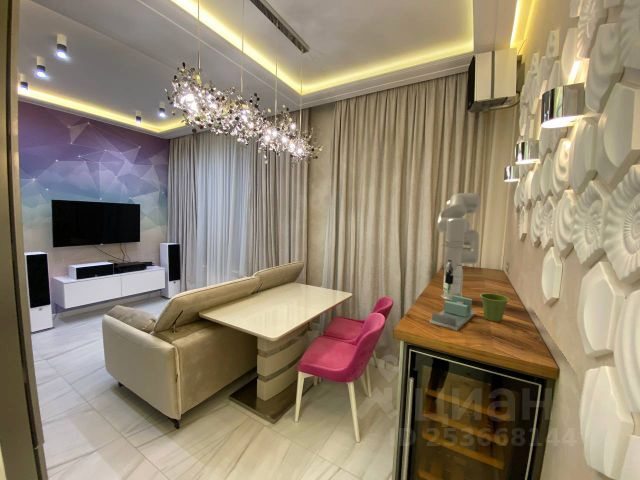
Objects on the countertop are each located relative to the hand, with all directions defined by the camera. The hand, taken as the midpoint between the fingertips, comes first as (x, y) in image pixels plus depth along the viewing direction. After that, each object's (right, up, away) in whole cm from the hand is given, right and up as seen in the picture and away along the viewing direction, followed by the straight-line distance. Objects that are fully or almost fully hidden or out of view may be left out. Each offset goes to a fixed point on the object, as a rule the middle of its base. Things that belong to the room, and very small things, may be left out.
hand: (452, 281), depth 125 cm
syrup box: (0, -5, +1) cm, 5 cm away
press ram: (+8, -17, +10) cm, 21 cm away
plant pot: (+22, -19, +5) cm, 30 cm away
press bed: (+3, -19, +6) cm, 20 cm away
